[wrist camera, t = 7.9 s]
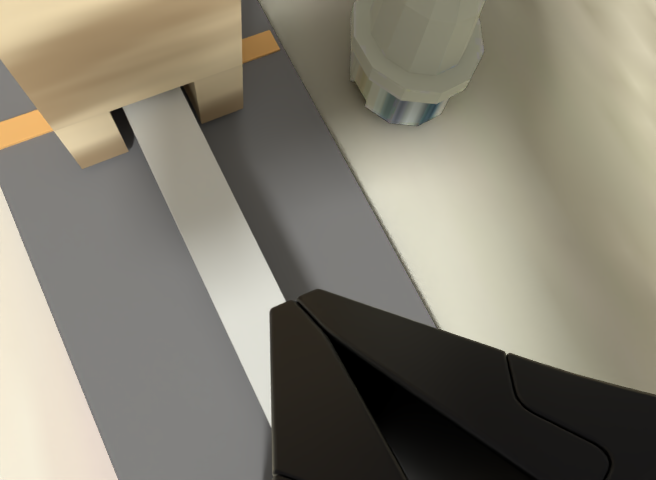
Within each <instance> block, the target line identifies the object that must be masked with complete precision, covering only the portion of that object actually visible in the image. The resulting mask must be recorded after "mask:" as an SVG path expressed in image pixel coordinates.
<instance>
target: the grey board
mask: <svg viewBox="0 0 656 480" xmlns="http://www.w3.org/2000/svg"><path fill="white" fill-rule="evenodd" d="M241 22H242V67H243V109H240V110H238V111H235V112H232V113H230V114H227V115H224V116H222V117H219V118H216V119H214V120H211V121H208V122H206V123H203V124H202V123H201V121H200V119H199V117H198V115H197V113H196V111H195V109H194V107H193V105H192V103H191V101H190V99H189V97H188V95H187V93H186V91H185V89H184V87H183V86H180V87H177V88H174V89H172V90H169V91H166V92H163V93H160V94H158V95H155V96H152V97H149V98H146V99H143V100H141V101H138V102H135V103H132V104H129V105H127V106H124V107H121V108H118V109H115V110H113V111H110V112H111V114H112V116H113V118H114V120H115V123H116V125H117V127H118V129H119V131H120V133H121V136H122V138H123V140H124V142H125V144H126V147H127V149H128V151H129V152H126V153H124V154H121V155H118V156H116V157H113V158H110V159H108V160H105V161H102V162H100V163H97V164H95V165H92V166H89V167H87V168H84V169H82V168H81V167H80V166H79V164H78V163H77V161H76V160H75V159H74V157H73V156H72V155H71V153H70V152H69V151H68V149H67V148H66V147H65V145H64V144H63V143H62V141H61V140H60V139H59V137H58V136H57V135H56V133H55V132H54V131H53V129H52V128H51V127H50V125H49V124H48V123H47V121H46V120H45V119H44V117H43V116H42V115H41V113H40V112H39V110H38V109H37V108H36V106H35V105H34V104H33V102H32V101H31V100H30V98H29V97H28V96H27V94H26V93H25V92H24V90H23V89H22V88H21V86H20V85H19V84H18V82H17V81H16V80H15V78H14V77H13V76H12V74H11V73H10V72H9V70H8V69H7V68H6V66H5V65H4V64H3V62H2V61H1V59H0V186H1V189H2V191H3V194H4V196H5V198H6V201H7V203H8V206H9V208H10V211H11V213H12V216H13V218H14V221H15V223H16V226H17V228H18V231H19V233H20V236H21V238H22V241H23V243H24V246H25V248H26V251H27V253H28V256H29V258H30V261H31V263H32V266H33V268H34V271H35V273H36V276H37V278H38V281H39V283H40V286H41V288H42V291H43V293H44V296H45V298H46V301H47V303H48V306H49V308H50V311H51V313H52V316H53V318H54V321H55V323H56V326H57V328H58V331H59V333H60V336H61V338H62V341H63V343H64V346H65V348H66V351H67V353H68V355H69V358H70V360H71V363H72V365H73V368H74V370H75V373H76V375H77V378H78V380H79V383H80V385H81V388H82V390H83V393H84V395H85V398H86V400H87V403H88V405H89V408H90V410H91V413H92V415H93V418H94V420H95V423H96V425H97V428H98V430H99V433H100V435H101V438H102V440H103V443H104V445H105V448H106V450H107V453H108V455H109V458H110V460H111V463H112V465H113V468H114V470H115V473H116V475H117V478H118V480H272V478H273V475H272V430H271V376H270V323H269V312H270V309H271V308H273V307H275V306H277V305H279V304H282V303H284V302H286V301H289V300H294V301H295V300H296V298H297V297H298V296H300V295H303V294H305V293H307V292H310V291H312V290H314V289H323V290H325V291H328V292H331V293H334V294H337V295H340V296H343V297H346V298H349V299H352V300H355V301H358V302H361V303H364V304H367V305H370V306H373V307H376V308H379V309H382V310H384V311H387V312H390V313H393V314H396V315H399V316H402V317H405V318H408V319H411V320H414V321H417V322H420V323H423V324H426V325H429V326H432V327H435V328H437V327H436V326H435V324H434V322H433V320H432V318H431V316H430V315H429V313H428V311H427V309H426V307H425V305H424V304H423V302H422V300H421V298H420V296H419V294H418V293H417V291H416V289H415V287H414V285H413V284H412V282H411V280H410V278H409V276H408V274H407V273H406V271H405V269H404V267H403V265H402V263H401V262H400V260H399V258H398V256H397V254H396V252H395V251H394V249H393V247H392V245H391V243H390V241H389V240H388V238H387V236H386V234H385V232H384V230H383V229H382V227H381V225H380V223H379V221H378V219H377V218H376V216H375V214H374V212H373V210H372V209H371V207H370V205H369V203H368V201H367V199H366V198H365V196H364V194H363V192H362V190H361V188H360V187H359V185H358V183H357V181H356V179H355V177H354V176H353V174H352V172H351V170H350V168H349V166H348V165H347V163H346V161H345V159H344V157H343V155H342V154H341V152H340V150H339V148H338V146H337V144H336V143H335V141H334V139H333V137H332V135H331V134H330V132H329V130H328V128H327V126H326V124H325V123H324V121H323V119H322V117H321V115H320V113H319V112H318V110H317V108H316V106H315V104H314V102H313V101H312V99H311V97H310V95H309V93H308V91H307V90H306V88H305V86H304V84H303V82H302V80H301V79H300V77H299V75H298V73H297V71H296V69H295V68H294V66H293V64H292V62H291V60H290V59H289V57H288V55H287V53H286V51H285V49H284V48H283V46H282V44H281V42H280V40H279V38H278V37H277V35H276V33H275V31H274V29H273V27H272V26H271V24H270V22H269V20H268V18H267V16H266V15H265V13H264V11H263V9H262V7H261V5H260V4H259V2H258V0H241Z"/></svg>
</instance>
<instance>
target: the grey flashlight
mask: <svg viewBox="0 0 656 480" xmlns="http://www.w3.org/2000/svg"><path fill="white" fill-rule="evenodd" d="M484 3H485V0H356V1H355V2H354V4H353V8H352V13H351V54H350V81H354V82H356V84H357V86H358V88H359V89H360V91H361V93H362V95H363V96H364V98H365V100H366V104H365V107H366V108H368V109H369V110H371V111H372V112H374V113H375V114H377V115H378V116H380V117H381V118H383V119H384V120H386V121H387V122H389V123H394V124H404V125H414V126H419V125H421V124H423V123H424V122H426V121H428V120H430V119H432V118H434V117H436V116H438V115H440V114H441V113H442V111H443V109H444V107H445V105H446V103H447V102H448V100H449V98H450V97H452V96H454V95H456V94H458V93H460V92H462V91H464V90H465V88H466V86H467V85H468V83H469V81H470V79H471V77H472V75H473V73H474V71H475V69H476V67H477V65H478V63H479V61H480V59H481V57H482V55H483V53H484V45H483V38H482V30H481V23H480V19H479V16H480V13H481V10H482V8H483V5H484Z"/></svg>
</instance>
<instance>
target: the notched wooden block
mask: <svg viewBox="0 0 656 480" xmlns="http://www.w3.org/2000/svg"><path fill="white" fill-rule="evenodd" d="M0 59H1V61H2V62H3V64H4V65H5V66H6V68H7V69H8V70H9V72H10V73H11V74H12V76H13V77H14V78H15V80H16V81H17V82H18V84H19V85H20V86H21V88H22V89H23V90H24V92H25V93H26V94H27V96H28V97H29V98H30V100H31V101H32V102H33V104H34V105H35V106H36V108H37V109H38V110H39V112H40V113H41V115H42V116H43V117H44V119H45V120H46V121H47V123H48V124H49V125H50V127H51V128H52V129H53V131H54V132H55V133H56V135H57V136H58V137H59V139H60V140H61V141H62V143H63V144H64V145H65V147H66V148H67V149H68V151H69V152H70V153H71V155H72V156H73V157H74V159H75V160H76V161H77V163H78V164H79V166H80V167H81V168H82V169H84V168H87V167H89V166H92V165H95V164H97V163H100V162H102V161H105V160H108V159H110V158H113V157H116V156H118V155H121V154H124V153H126V152H129V151H128V149H127V147H126V144H125V142H124V140H123V138H122V136H121V133H120V131H119V129H118V127H117V125H116V123H115V120H114V118H113V116H112V114H111V112H110V111H113V110H115V109H118V108H121V107H124V106H127V105H129V104H132V103H135V102H138V101H141V100H143V99H146V98H149V97H152V96H155V95H158V94H160V93H163V92H166V91H169V90H172V89H174V88H177V87H180V86H183V87H184V89H185V91H186V93H187V95H188V97H189V99H190V101H191V103H192V105H193V107H194V109H195V111H196V113H197V115H198V117H199V119H200V121H201V123H202V124H203V123H206V122H208V121H211V120H214V119H216V118H219V117H222V116H224V115H227V114H230V113H232V112H235V111H238V110H240V109H243V67H242V22H241V0H0Z"/></svg>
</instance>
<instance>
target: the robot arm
mask: <svg viewBox="0 0 656 480" xmlns="http://www.w3.org/2000/svg"><path fill="white" fill-rule="evenodd" d="M269 323H270V376H271V430H272V475H273V478H272V480H656V395H655V394H651V393H647V392H643V391H639V390H635V389H631V388H626V387H622V386H619V385H615V384H611V383H607V382H604V381H600V380H596V379H593V378H589V377H585V376H581V375H578V374H574V373H571V372H568V371H564V370H561V369H558V368H555V367H552V366H548V365H545V364H542V363H539V362H536V361H533V360H530V359H527V358H524V357H521V356H518V355H515V354H512V353H508V354H507V356H506V353H505V352H504V351H503V350H500V349H497V348H494V347H491V346H488V345H485V344H482V343H479V342H476V341H473V340H470V339H467V338H464V337H461V336H458V335H455V334H452V333H449V332H446V331H444V330H441V329H438V328H435V327H432V326H429V325H426V324H423V323H420V322H417V321H414V320H411V319H408V318H405V317H402V316H399V315H396V314H393V313H390V312H387V311H384V310H382V309H379V308H376V307H373V306H370V305H367V304H364V303H361V302H358V301H355V300H352V299H349V298H346V297H343V296H340V295H337V294H334V293H331V292H328V291H325V290H323V289H314V290H312V291H310V292H307V293H305V294H303V295H300V296H298V297H297V298H296V300H295V301H294V300H289V301H286V302H284V303H282V304H279V305H277V306H275V307H273V308H271V309H270V312H269Z"/></svg>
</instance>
